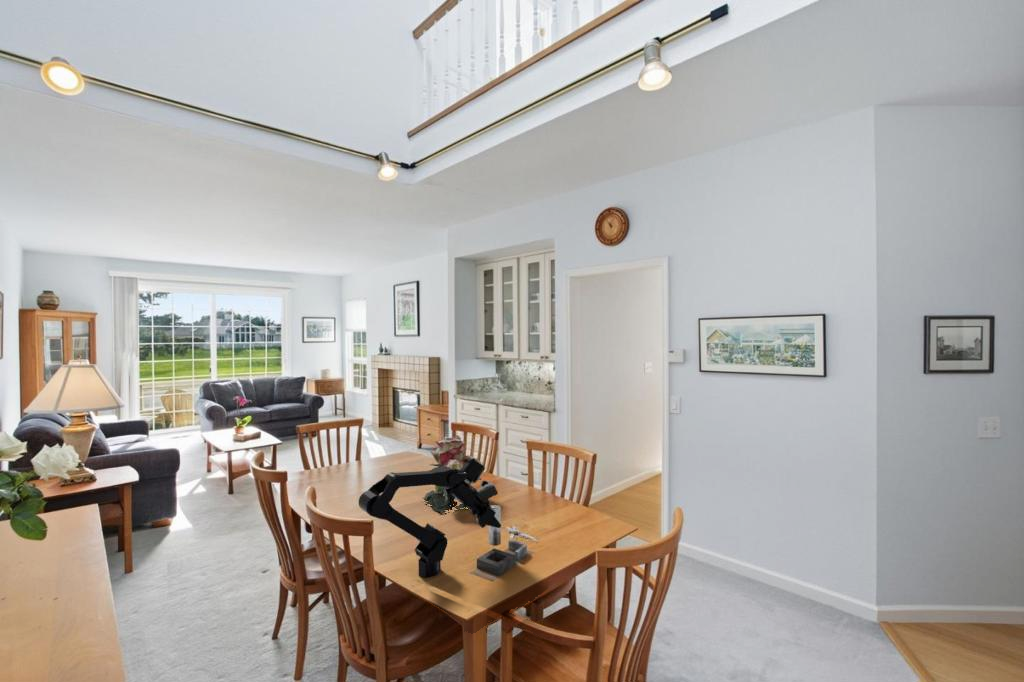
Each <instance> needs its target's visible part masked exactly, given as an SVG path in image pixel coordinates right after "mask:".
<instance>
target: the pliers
mask: <svg viewBox="0 0 1024 682" xmlns="http://www.w3.org/2000/svg"><path fill="white" fill-rule="evenodd" d="M506 530H507V531H506ZM505 531H506V532H507V533H509V534H510V536H509V538H510V539H511V540H517V539H516V538H518V537H517V536H515V535H518V536H519V535H520V536H519V538H521V537H522V538H521V539H529V538H530V540H531V539H532V541H533V540H534V541H533V542H534V543H536V542H537V543H538V540H537V539H536V538H535V537H533V536H531V535H529V534H526V533H523V532H521V531H520V530H519V529H518V528H517V527H516V525H512V528H511V527H509V526H506V527H505ZM510 532H511V533H510ZM514 534H515V535H514ZM523 536H524V537H523Z"/></svg>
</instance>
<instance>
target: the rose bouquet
mask: <svg viewBox="0 0 1024 682" xmlns="http://www.w3.org/2000/svg"><path fill="white" fill-rule="evenodd" d="M435 443H436V444H437V446H438V447H437V448H433V449H429V451H430V454H431V456H432V457H433V459H435V463H430V464H429V466H434V467H440V466H447V467H450V468H452V469H458V470H461V469H462V467H463V466H464V465H465V463H466V462H467V460H468V459H469V457H471V458H473V459H474V460H476V461H477V462H479V463H480V464H482V462H481V460H479V459H477V458H474V457H473V456H472V455H469V454H468V455H467V454H466V455H465V453H466V450H465V449H463V448H464V446H465V444H466V441H463V440H462V437H460V435H458V434H456V435H455V436H453V437H446V438H444V439H443V440H438V441H435ZM436 462H437V463H436ZM482 465H483V464H482ZM416 471H417V469H416ZM482 475H483V473H482V474H481V475H480V477H479V478H478V480H477V481H476V482H475V483H473V482H472V483H471V484H470V483H468V482H466V481H465V480H464V481H465V482H466V483H467V484H468V485H469V486H470V487H471V488H475V489H476V490H477V488H476V487H474V485H472V484H476V483H477V482H479V481H481V480H482V478H481V476H482ZM434 486H435V488H434V489H433V490H430V491H429V492H427V493H425V495H424V496H423V498H422V499H424V500H425V501H428V502H426V503H427V504H430V505H432V507H431V509H432V510H433V511H435V512H438V513H440V514H441V515H446V514H445V512H446V511H445V510H448V511H449V508H450V505H453V504H454V505H455V502H454V499H455V500H458V499H457V498H455V497H454V496H453V495H452V494H451V495H450V497H445V496H444V488H448V487H441V486H436V485H434ZM458 501H459V500H458ZM459 502H460V501H459ZM454 505H453V506H454ZM455 508H456V509H459V510H461V509H460V508H464V506H463V504H460V505H459V506H456V507H455ZM450 509H451V508H450ZM456 511H458V510H454V513H455V512H456Z"/></svg>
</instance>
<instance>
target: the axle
mask: <svg viewBox="0 0 1024 682" xmlns="http://www.w3.org/2000/svg"><path fill="white" fill-rule="evenodd" d="M490 506H491V507H493V509H494V511H495V512H496V514H495V515H494V516H495V517H496V519H497V520H498V521H499V523H500V524H501V525H502V522H501V520H502V518H501V516H502V514H501V513H502V509H501V508H502V507H501V505H499V504H498V505H497V504H494V505H493V504H491V505H490ZM488 544H489V545H490V546H492V547H495V546H500V545H501V544H502V526H501V527H500V528H497V527H493V526H489V525H488Z"/></svg>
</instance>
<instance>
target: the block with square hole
mask: <svg viewBox="0 0 1024 682" xmlns="http://www.w3.org/2000/svg"><path fill="white" fill-rule="evenodd" d="M534 553H535V552H534V551H530V550H528V546H527V544H526V542H524V541H523V542H522V541H517V540H516V539H512V538H510V539H509V540H508V547H507V548H506V549H505V550H500V549H497V548H492V549H491V550H489V551H487V552H485V553H484V554H482V555H481V556H478V557H477V558H476V568H475V569H474V570H471V571H470V572H469V574H471V575H474V576H476V577H480V578H482V579H484V580H487V581H490V582H494V581H496V579H498V578H500V577H501V576H503V575H504V574H506V573H507V572H508V571H510V570H511V569H512V568H514V567H516V566H517V565H518V564H520V563H522V561H524V560H525V559H527V558H528V557H529V556H531V555H532V554H534Z"/></svg>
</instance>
